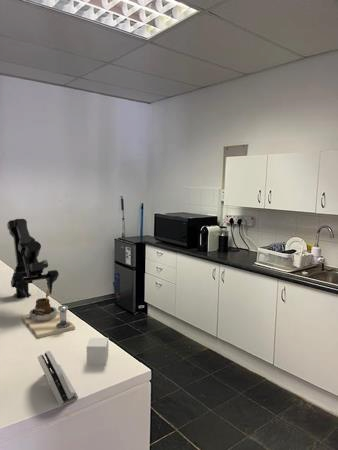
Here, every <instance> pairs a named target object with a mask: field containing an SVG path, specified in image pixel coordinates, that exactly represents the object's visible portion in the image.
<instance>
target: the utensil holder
mask: <svg viewBox="0 0 338 450" xmlns="http://www.w3.org/2000/svg"><path fill="white" fill-rule="evenodd" d="M40 292H41V289H38V291H37V292H36V295H39V294H41V293H40ZM49 292H50V289H48V288H47V290H46V292H45V297H46V298H45V297H42V296H39V298H38V299H36V301H35V307H34V309H35V314H36V315H45V314H50V313H51V307H52V306H51V303H50V299H49V298H48V297H49V296H50V293H49Z"/></svg>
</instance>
